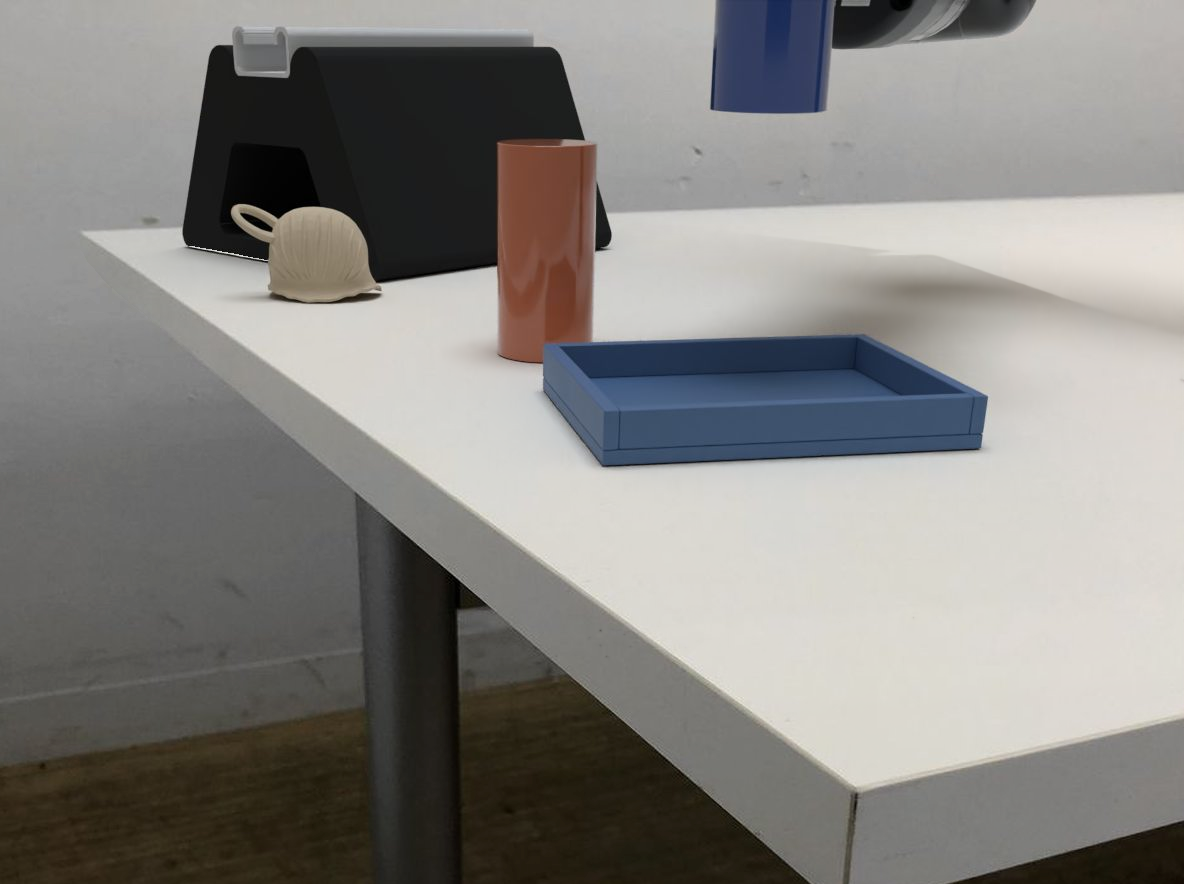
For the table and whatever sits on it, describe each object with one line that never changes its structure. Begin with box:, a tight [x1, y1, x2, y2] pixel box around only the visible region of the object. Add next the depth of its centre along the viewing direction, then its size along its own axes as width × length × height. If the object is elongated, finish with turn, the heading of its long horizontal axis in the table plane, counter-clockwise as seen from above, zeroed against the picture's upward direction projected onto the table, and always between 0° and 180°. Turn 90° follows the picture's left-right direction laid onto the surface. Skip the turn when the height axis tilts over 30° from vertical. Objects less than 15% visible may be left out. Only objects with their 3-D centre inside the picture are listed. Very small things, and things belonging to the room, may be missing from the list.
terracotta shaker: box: [496, 139, 598, 364], centre depth 68 cm, size 5×5×10 cm
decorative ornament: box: [231, 204, 382, 303], centre depth 83 cm, size 4×8×5 cm, turn 84°
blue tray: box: [542, 333, 989, 466], centre depth 58 cm, size 15×12×2 cm
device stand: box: [181, 25, 613, 282], centre depth 101 cm, size 22×22×15 cm
